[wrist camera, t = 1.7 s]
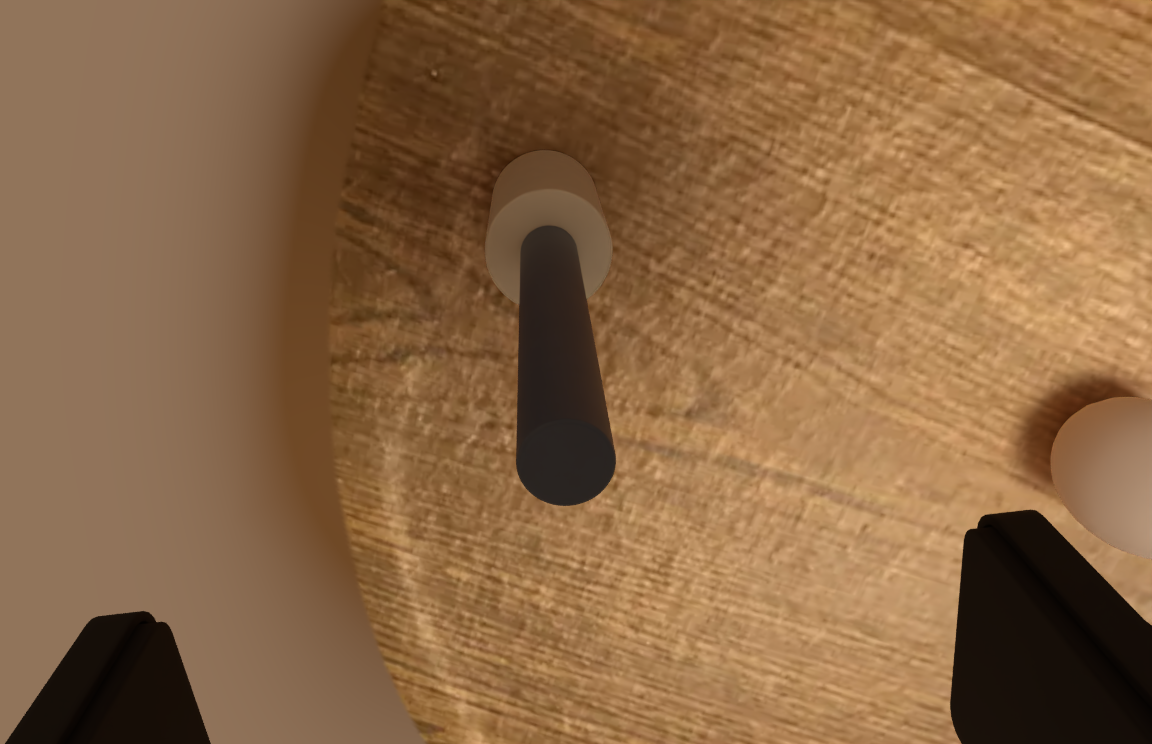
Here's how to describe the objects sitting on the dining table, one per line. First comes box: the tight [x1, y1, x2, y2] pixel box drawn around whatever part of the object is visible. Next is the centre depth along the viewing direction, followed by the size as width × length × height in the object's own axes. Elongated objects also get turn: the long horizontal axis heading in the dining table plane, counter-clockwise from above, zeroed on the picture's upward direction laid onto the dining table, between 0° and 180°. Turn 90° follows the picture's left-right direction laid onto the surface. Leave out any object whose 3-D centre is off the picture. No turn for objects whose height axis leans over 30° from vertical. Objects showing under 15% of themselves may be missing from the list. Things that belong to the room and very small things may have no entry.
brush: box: [485, 150, 616, 506], centre depth 23 cm, size 4×4×18 cm
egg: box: [1050, 397, 1152, 559], centre depth 32 cm, size 5×5×7 cm
